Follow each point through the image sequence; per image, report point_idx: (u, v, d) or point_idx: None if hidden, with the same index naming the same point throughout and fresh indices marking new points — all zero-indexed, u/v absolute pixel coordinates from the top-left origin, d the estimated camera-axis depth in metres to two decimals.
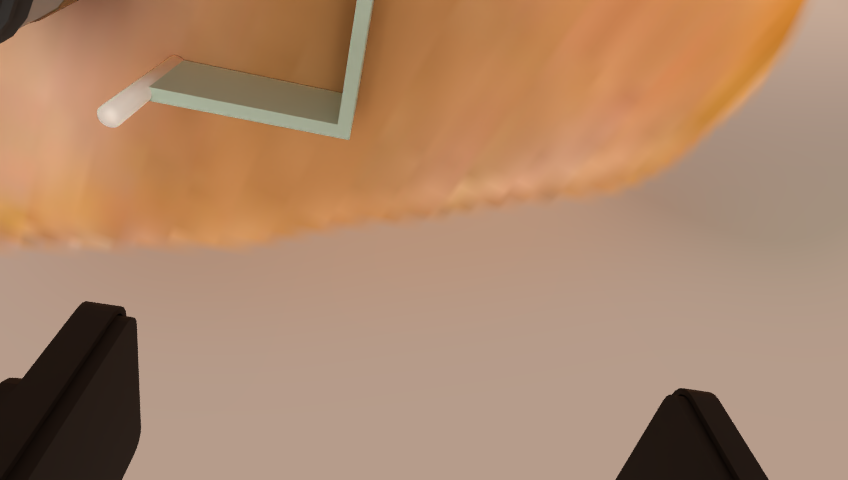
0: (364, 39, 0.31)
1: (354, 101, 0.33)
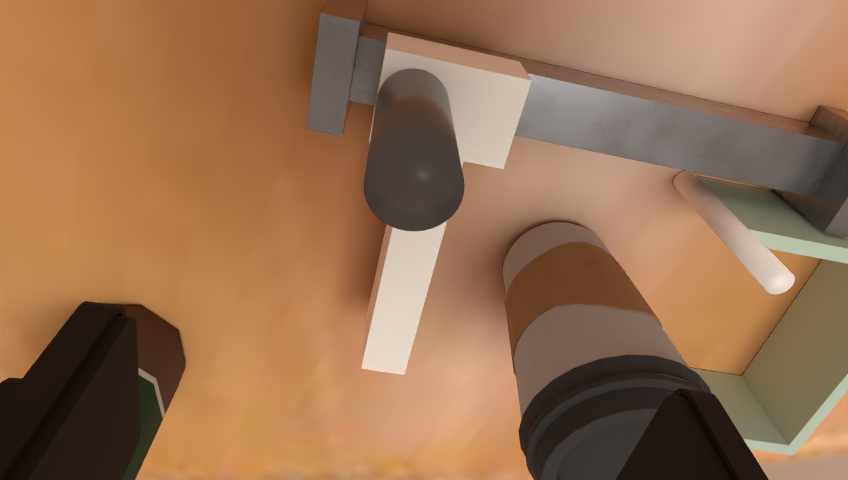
0: (846, 390, 0.34)
1: (813, 430, 0.35)
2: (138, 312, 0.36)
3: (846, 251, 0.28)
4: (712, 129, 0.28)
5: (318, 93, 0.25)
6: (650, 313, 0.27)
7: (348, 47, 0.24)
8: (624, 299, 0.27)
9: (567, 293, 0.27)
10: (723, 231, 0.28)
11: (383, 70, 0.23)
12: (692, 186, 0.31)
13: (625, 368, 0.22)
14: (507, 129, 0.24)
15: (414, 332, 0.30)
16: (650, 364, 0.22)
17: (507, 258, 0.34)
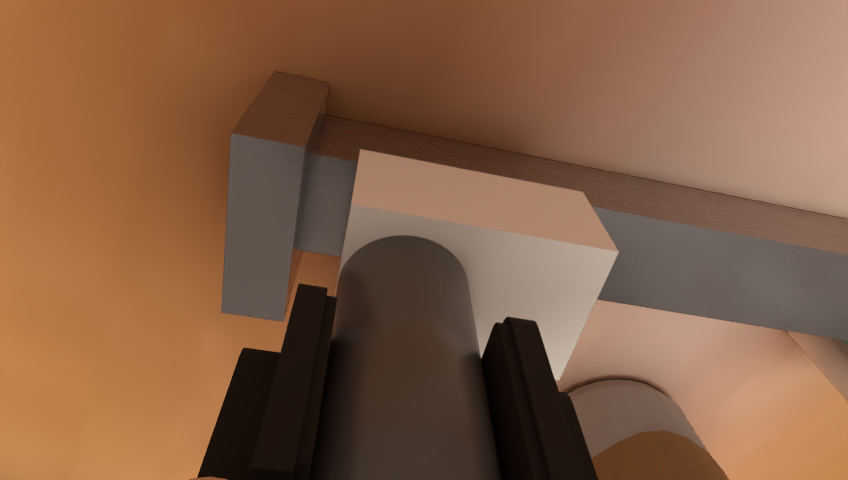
0: None
1: None
2: None
3: None
4: None
5: (238, 260, 0.14)
6: None
7: (286, 188, 0.13)
8: None
9: None
10: None
11: (348, 239, 0.12)
12: (826, 346, 0.21)
13: None
14: (570, 324, 0.14)
15: None
16: None
17: None
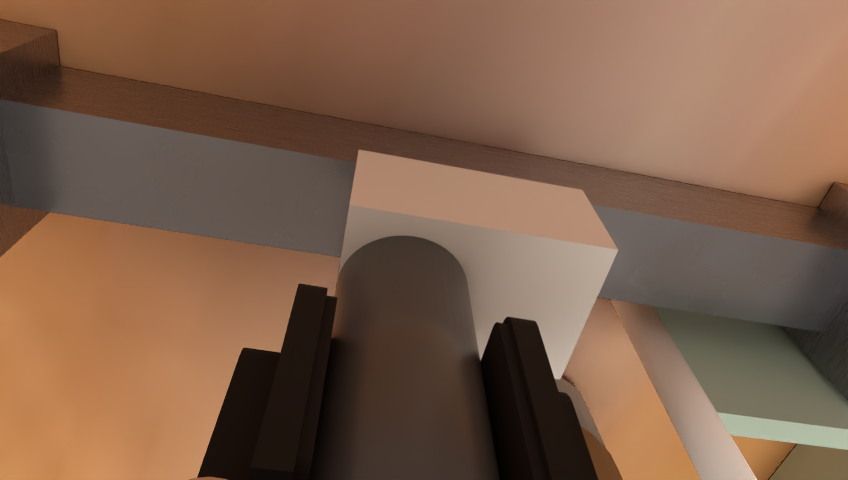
0: None
1: None
2: None
3: None
4: (655, 238, 0.17)
5: None
6: None
7: None
8: None
9: None
10: (675, 416, 0.16)
11: (346, 239, 0.12)
12: (634, 312, 0.20)
13: None
14: (570, 323, 0.14)
15: None
16: None
17: None
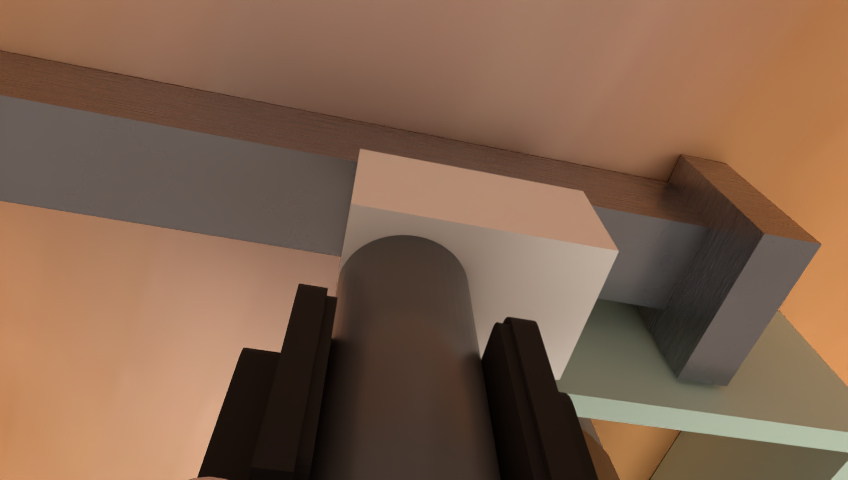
0: None
1: None
2: None
3: (711, 417, 0.16)
4: None
5: None
6: None
7: None
8: None
9: None
10: None
11: (348, 238, 0.12)
12: None
13: None
14: (570, 324, 0.14)
15: None
16: None
17: None
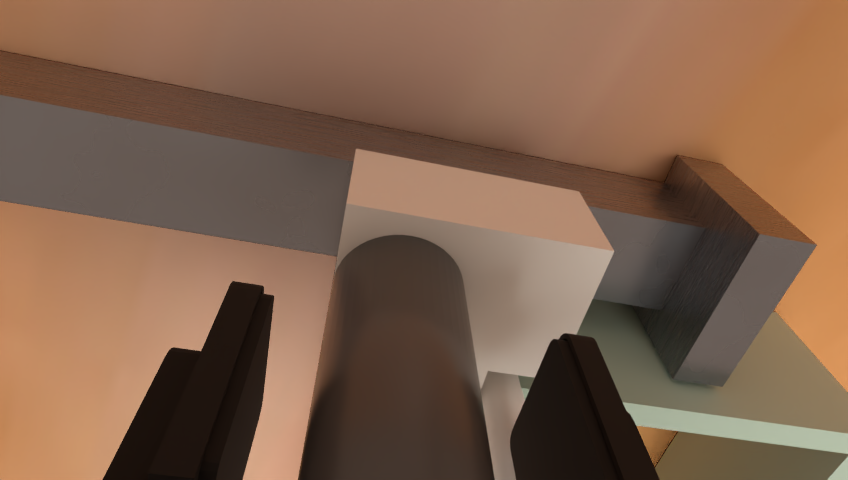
0: None
1: None
2: None
3: (706, 418, 0.16)
4: None
5: None
6: None
7: None
8: None
9: None
10: None
11: (343, 238, 0.12)
12: None
13: None
14: (565, 324, 0.14)
15: None
16: None
17: None
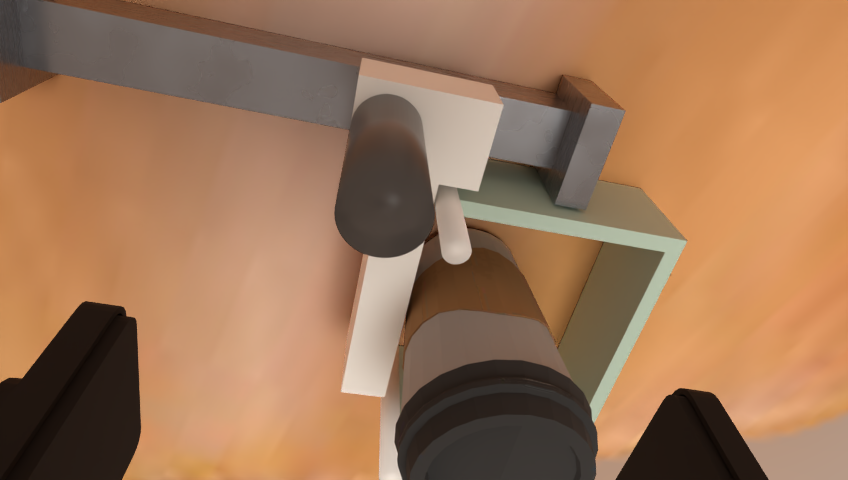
0: (617, 374, 0.32)
1: (595, 419, 0.34)
2: None
3: (572, 223, 0.27)
4: None
5: None
6: (535, 318, 0.26)
7: None
8: (507, 304, 0.26)
9: (451, 299, 0.27)
10: (435, 203, 0.26)
11: (356, 96, 0.23)
12: None
13: (489, 374, 0.22)
14: (481, 152, 0.25)
15: (393, 354, 0.30)
16: (515, 369, 0.22)
17: None
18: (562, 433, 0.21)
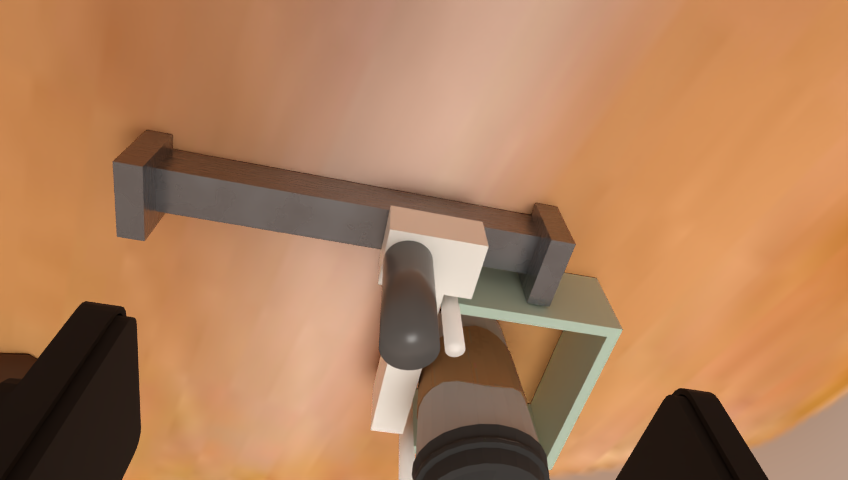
0: (576, 419, 0.43)
1: (560, 450, 0.45)
2: (24, 360, 0.45)
3: (539, 318, 0.38)
4: None
5: (121, 213, 0.34)
6: (511, 386, 0.37)
7: (137, 183, 0.33)
8: (491, 377, 0.37)
9: (452, 371, 0.38)
10: (441, 305, 0.37)
11: (388, 241, 0.34)
12: None
13: (475, 434, 0.33)
14: (473, 275, 0.36)
15: (410, 404, 0.41)
16: (493, 431, 0.33)
17: None
18: (522, 475, 0.32)
